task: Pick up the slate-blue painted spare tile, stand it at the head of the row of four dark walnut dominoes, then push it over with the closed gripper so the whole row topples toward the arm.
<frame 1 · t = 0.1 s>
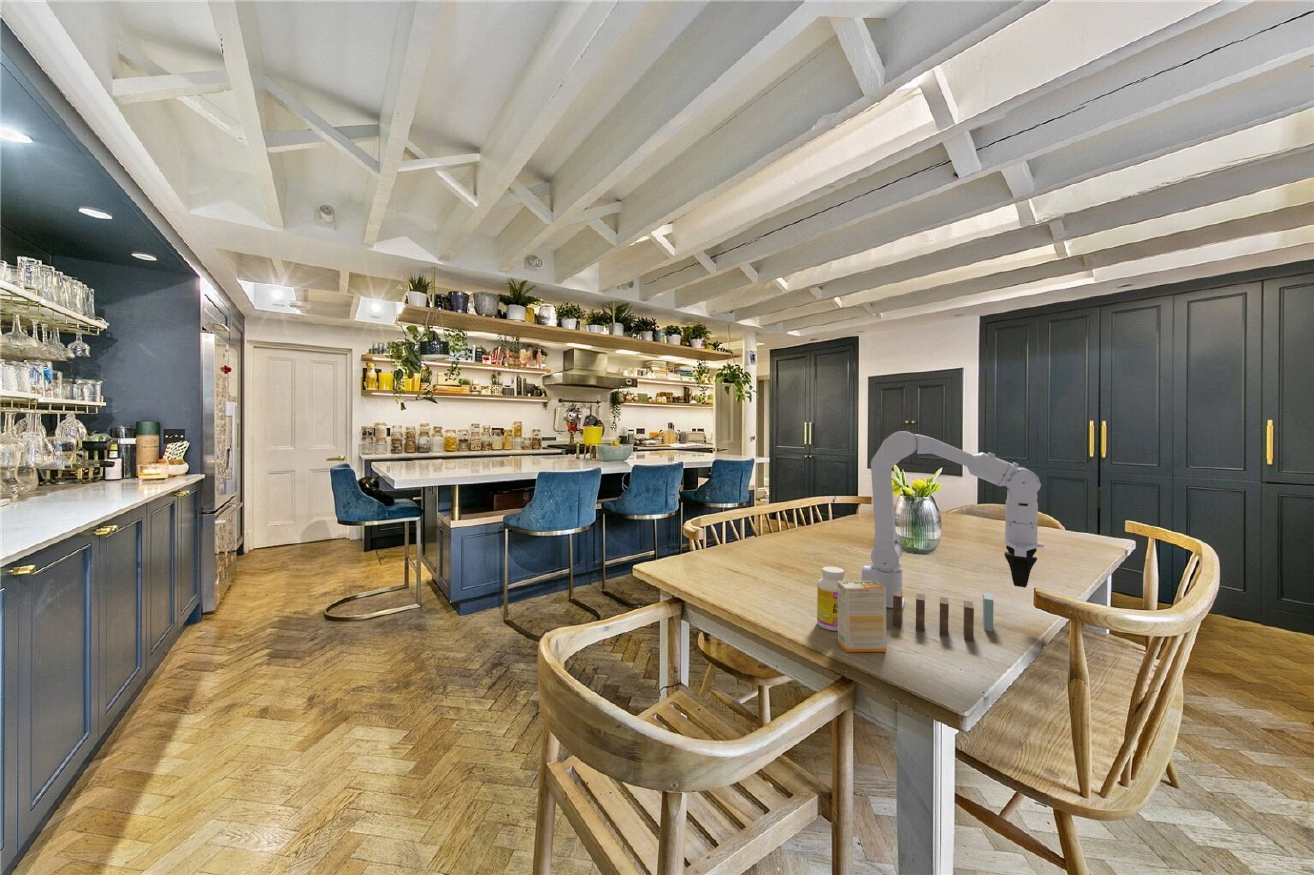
hand: (1020, 581, 106), 10 cm above the table, fingers open, 7 cm apart
supplement box: (861, 648, 96), on the table
domino 3: (920, 627, 106), on the table
domino 1: (968, 636, 101), on the table
supplement bottle: (832, 626, 107), on the table
teal domino: (987, 627, 106), on the table
domino 2: (943, 632, 103), on the table
domino 4: (897, 623, 108), on the table
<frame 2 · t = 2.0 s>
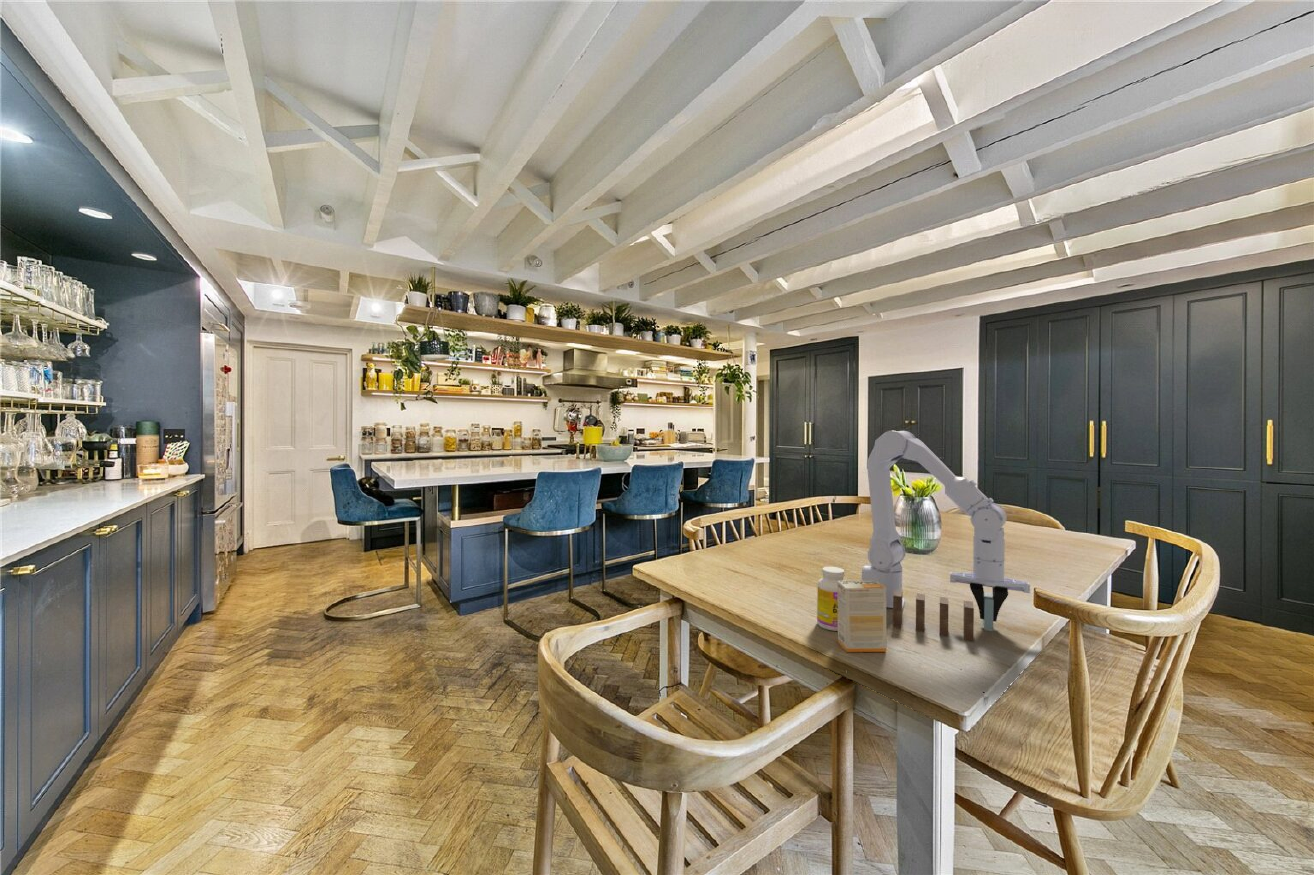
hand: (987, 618, 106), 2 cm above the table, fingers closed on teal domino, 2 cm apart
teal domino: (987, 627, 106), on the table, touching gripper
everything else where it was.
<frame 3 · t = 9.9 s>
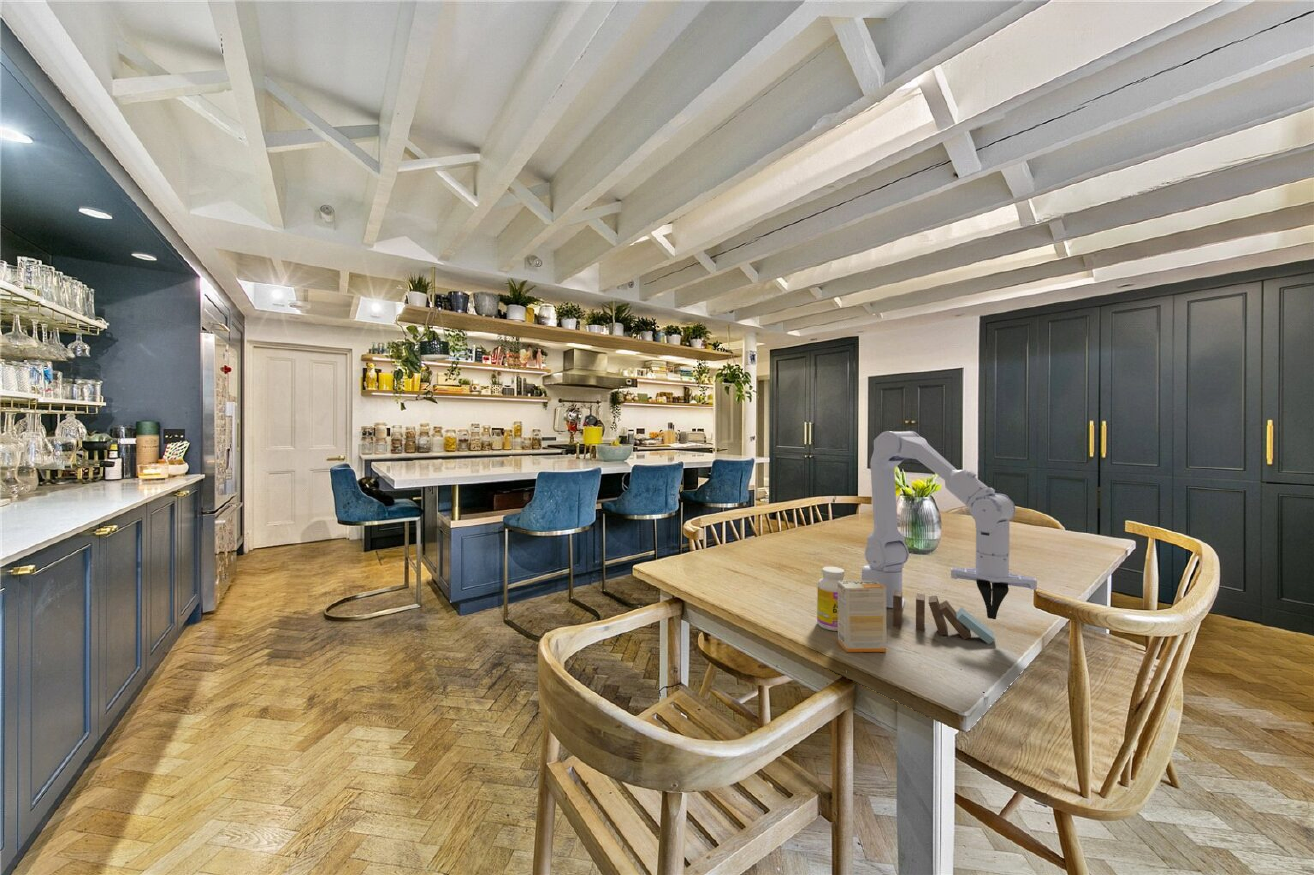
hand: (991, 617, 99), 5 cm above the table, fingers closed
domino 1: (967, 634, 101), on the table, tilted 39°
teal domino: (991, 638, 99), point 1 cm above the table, tilted 54°
domino 2: (943, 631, 103), on the table, tilted 18°
everything else where it was.
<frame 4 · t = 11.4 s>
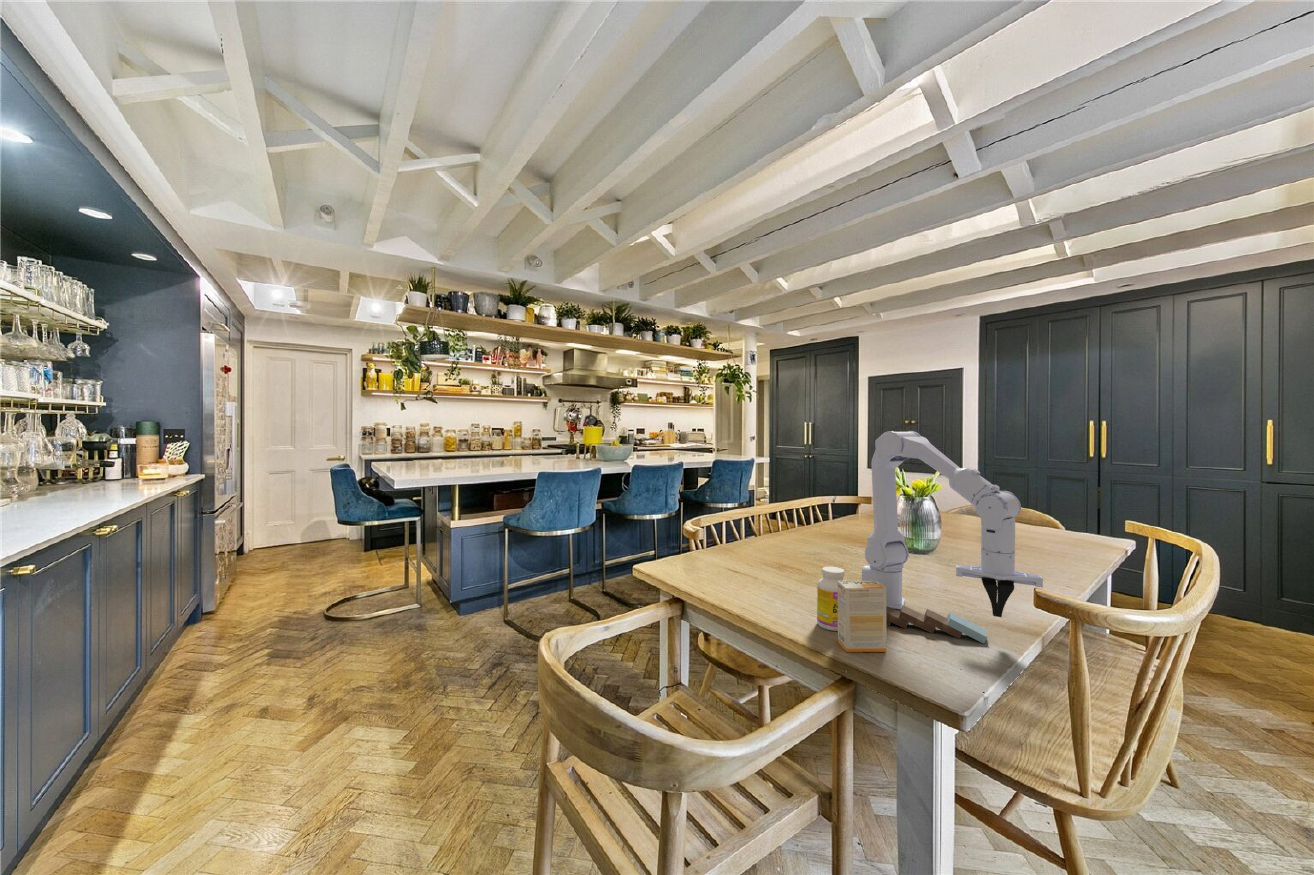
hand: (997, 615, 98), 6 cm above the table, fingers closed
domino 3: (906, 622, 107), point 1 cm above the table, tilted 73°, touching domino 2
domino 1: (960, 631, 102), point 1 cm above the table, tilted 71°, touching domino 2, teal domino
teal domino: (984, 636, 99), point 1 cm above the table, tilted 68°, touching domino 1
domino 2: (934, 626, 104), point 1 cm above the table, tilted 72°, touching domino 1, domino 3
domino 4: (890, 621, 109), on the table, tilted 90°
everything else where it was.
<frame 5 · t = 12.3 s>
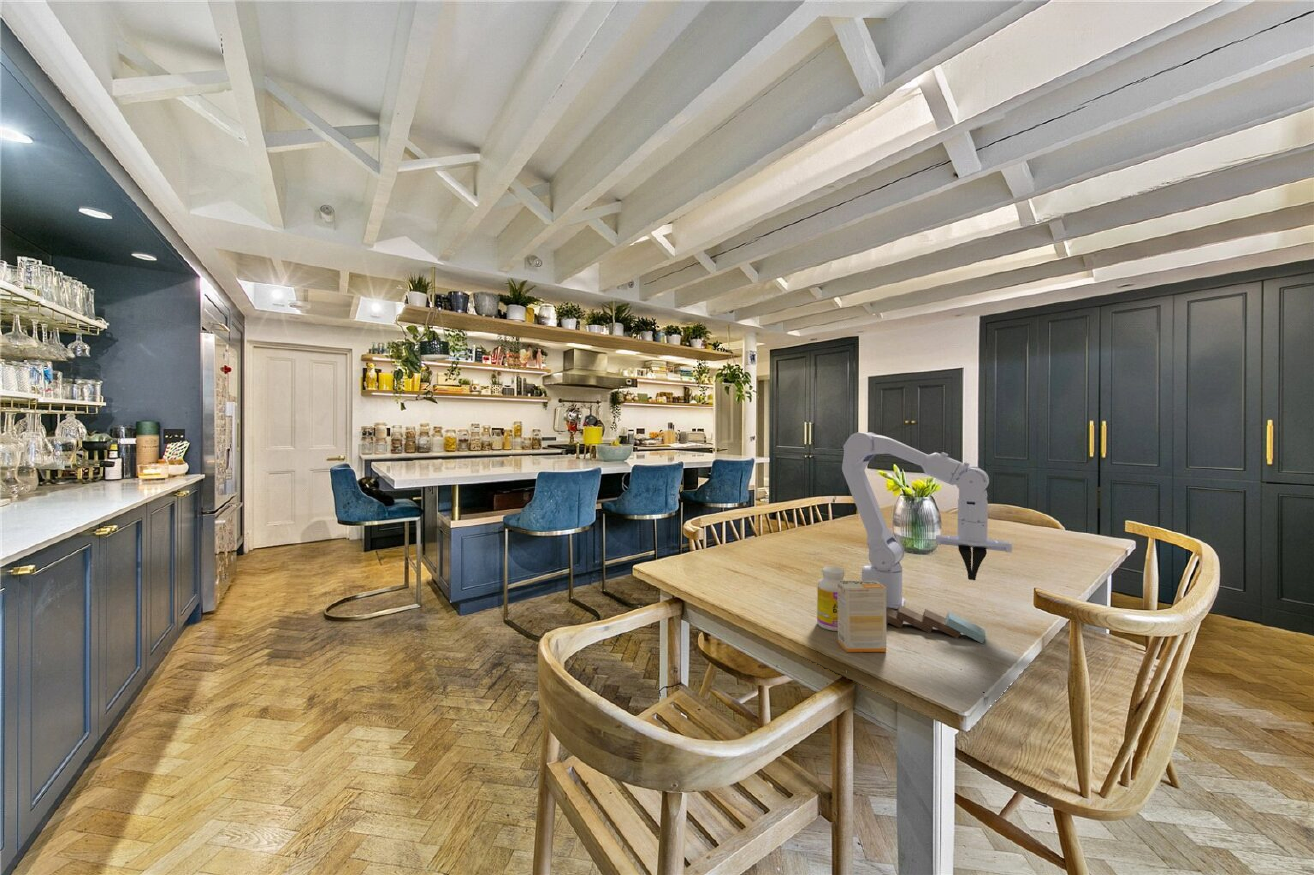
hand: (971, 578, 109), 10 cm above the table, fingers closed
domino 3: (901, 621, 107), point 1 cm above the table, tilted 72°, touching domino 2, domino 4
domino 1: (959, 631, 102), point 1 cm above the table, tilted 72°, touching teal domino
domino 2: (931, 626, 104), point 1 cm above the table, tilted 72°, touching domino 3
domino 4: (888, 621, 109), on the table, tilted 90°, touching domino 3
everything else where it was.
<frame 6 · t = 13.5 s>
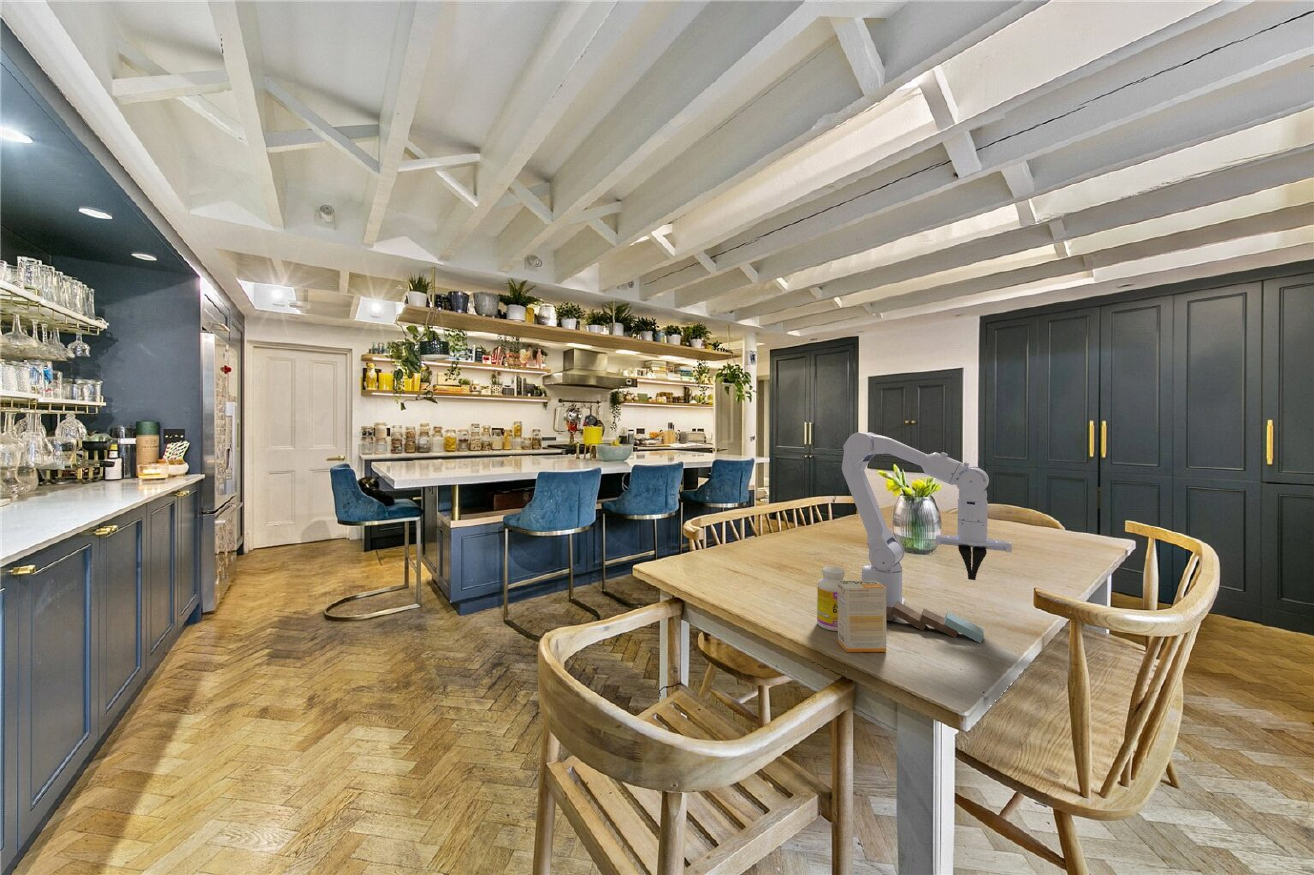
hand: (971, 578, 109), 10 cm above the table, fingers closed
domino 3: (892, 614, 109), point 2 cm above the table, tilted 89°, touching domino 2
domino 2: (926, 624, 105), point 1 cm above the table, tilted 68°, touching domino 3
domino 4: (884, 620, 109), on the table, tilted 90°
at the end: domino 4 tilted 90°; teal domino tilted 69°; teal domino inside the target area (0.7 cm from its centre), point 0.7 cm above the table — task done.
